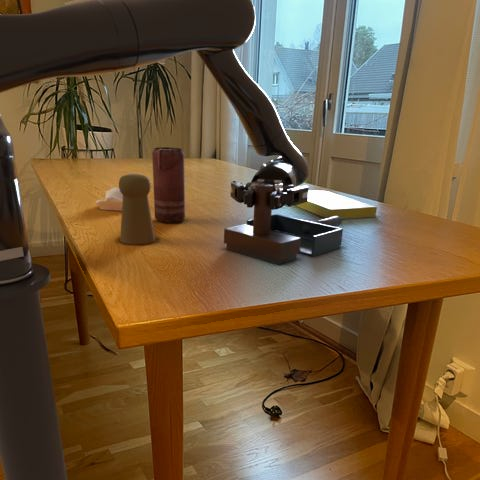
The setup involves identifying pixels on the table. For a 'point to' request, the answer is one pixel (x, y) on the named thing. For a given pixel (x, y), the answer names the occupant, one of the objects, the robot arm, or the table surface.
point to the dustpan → (309, 232)
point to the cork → (136, 210)
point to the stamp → (262, 233)
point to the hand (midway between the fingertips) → (260, 201)
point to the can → (169, 184)
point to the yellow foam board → (336, 206)
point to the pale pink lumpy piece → (111, 200)
